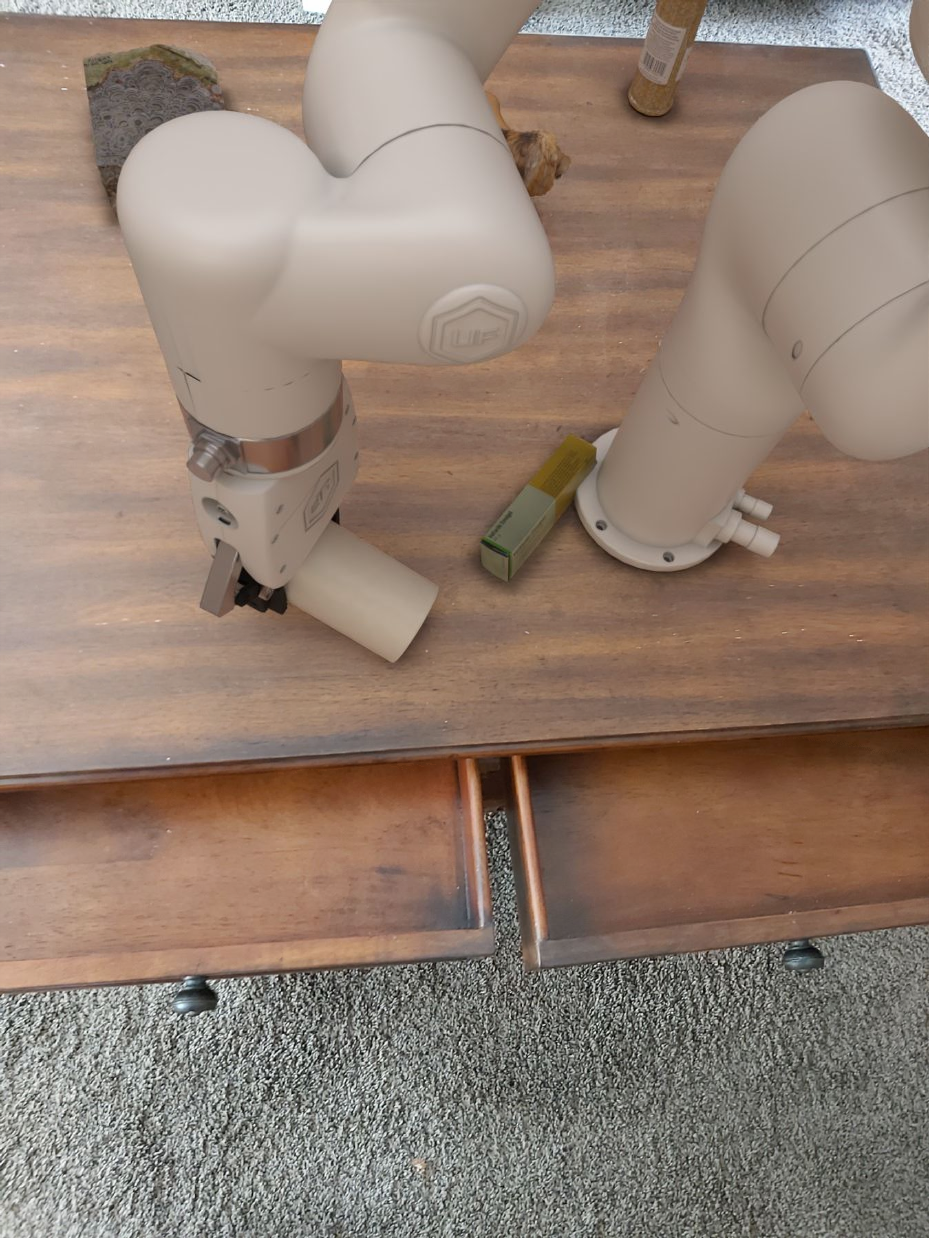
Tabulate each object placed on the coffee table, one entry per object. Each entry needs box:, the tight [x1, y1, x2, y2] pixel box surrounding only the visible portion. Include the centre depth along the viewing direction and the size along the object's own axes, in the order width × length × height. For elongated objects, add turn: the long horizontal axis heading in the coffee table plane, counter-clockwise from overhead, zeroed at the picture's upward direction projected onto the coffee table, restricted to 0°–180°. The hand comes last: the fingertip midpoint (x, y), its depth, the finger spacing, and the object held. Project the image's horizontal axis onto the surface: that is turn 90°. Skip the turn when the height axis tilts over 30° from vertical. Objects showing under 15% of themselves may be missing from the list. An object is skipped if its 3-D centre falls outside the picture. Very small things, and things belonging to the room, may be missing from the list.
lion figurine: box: [484, 89, 572, 198], centre depth 71 cm, size 15×5×9 cm, turn 35°
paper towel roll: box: [284, 520, 440, 664], centre depth 55 cm, size 6×6×12 cm
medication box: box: [478, 433, 597, 583], centre depth 62 cm, size 12×3×4 cm, turn 144°
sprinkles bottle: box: [627, 0, 709, 117], centre depth 75 cm, size 5×5×14 cm
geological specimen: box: [82, 43, 227, 217], centre depth 70 cm, size 11×6×15 cm
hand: (291, 559), depth 55 cm, fingers closed on paper towel roll, 6 cm apart
